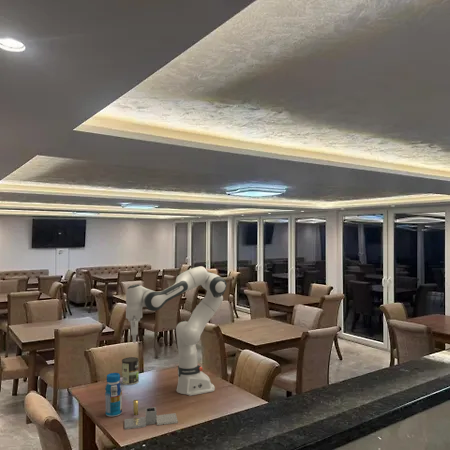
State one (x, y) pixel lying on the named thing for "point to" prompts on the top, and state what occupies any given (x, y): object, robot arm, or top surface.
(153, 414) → the hinge leaves
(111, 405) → the beverage bottle
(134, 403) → the pin
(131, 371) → the coffee can
